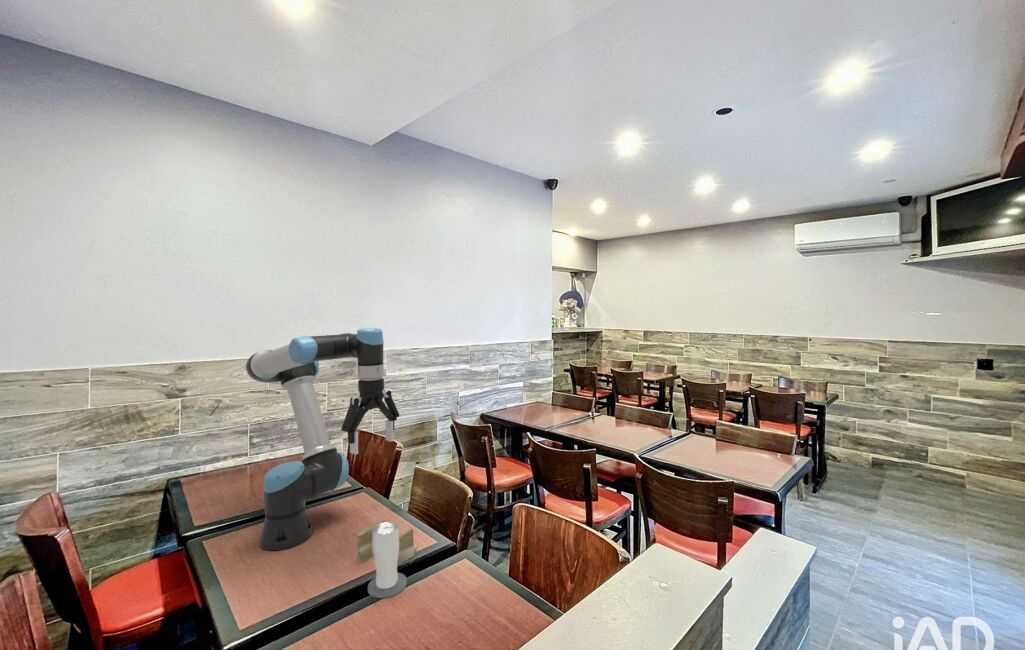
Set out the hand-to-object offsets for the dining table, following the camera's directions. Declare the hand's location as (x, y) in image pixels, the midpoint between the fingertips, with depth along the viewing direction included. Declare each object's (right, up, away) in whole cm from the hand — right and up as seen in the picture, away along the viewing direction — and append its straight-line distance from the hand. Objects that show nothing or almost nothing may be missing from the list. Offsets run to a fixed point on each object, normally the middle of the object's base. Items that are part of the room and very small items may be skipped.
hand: (372, 446), depth 131 cm
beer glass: (+10, -31, -18) cm, 38 cm away
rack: (+6, -31, -6) cm, 32 cm away
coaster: (+10, -32, -18) cm, 38 cm away
